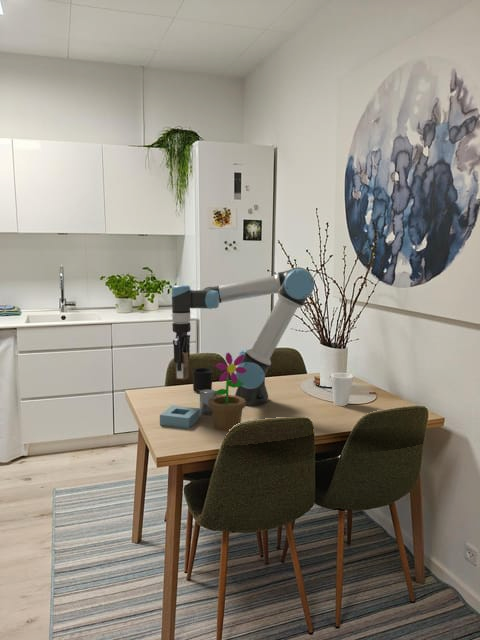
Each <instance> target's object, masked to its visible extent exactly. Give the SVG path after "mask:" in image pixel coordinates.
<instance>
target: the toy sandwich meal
mask: <svg viewBox="0 0 480 640" xmlns="http://www.w3.org/2000/svg"><path fill="white" fill-rule="evenodd" d="M313 377H314V380H313V384H315V385H316V384H318V385H320V375H314V376H313Z"/></svg>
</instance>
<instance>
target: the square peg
mask: <svg viewBox="0 0 480 640" xmlns="http://www.w3.org/2000/svg"><path fill="white" fill-rule="evenodd" d="M182 363H183V370H184V378H183V379H181V378H177V363H175V379H176V380H183V381H185V380H188V379H189V376H190V375H189V360H188V352H183V360H182Z"/></svg>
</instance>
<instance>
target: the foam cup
mask: <svg viewBox="0 0 480 640" xmlns="http://www.w3.org/2000/svg"><path fill="white" fill-rule="evenodd" d="M330 375H331V376H330V379H331V381H332V388H331V390H332V399H333V401H332V402H333V405H335V404H336V405H335V406H337V405H340V406H339V407H346V406H345V405H347V404H348V405H349V403H350V402H349V401H350V397H351V391H352V385H353V382H354V375H353V374H351V373H345V372H334V373H331V374H330ZM348 405H347V406H348Z"/></svg>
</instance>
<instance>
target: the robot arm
mask: <svg viewBox="0 0 480 640" xmlns="http://www.w3.org/2000/svg"><path fill="white" fill-rule="evenodd" d="M314 288H315V280H314V277H313V274H311V272H310V271H308V270H307V269H306V268H303V267H299V266H298V267H294V268H291V269H288V270H285V271H281V272H280V271H279V272H277V273H276V274H275V275H270V276H266V277H260V278H254V279H249V280H244V281H243V280H242V281H238V282H232V283H227V284H221V285H216V286H207V287H204V288H203V289H200V290H199V289H198V290H197V289H196V290H193V289H191V287H190V285H188V284H187V285H186V284H178V285H176V284H175V285H173V286H172V287H171V311H172V312H171V313H172V314H171V318H172V319H171V321H172V323H171V324H172V325H171V326H172V332H173V333H176V334H175V339H172V344H173V363H174V364H176V363H177V378H181V379H183V378H184V370H183V363H182V360H183V352H188V361H190V360H191V358H190V356H191V355H190V354H191V353H190V352H191V350H190V345H191V344H190V343H191V342H190V341H191V335H190V334H188V333H190V332H191V331H192V330H191V309H209V310H213V309H217V308H219V307H220V304H221V303H226V302H232V301H238V300H244V299H245V300H246V299H249V298H256V297H261V296H267V295H274V294H277V297H278V299H277V301H276V302H275V305H274V307H273V309H272V310H271V312H270V314H269V316H268V318H267V320H266V322H265V324H264V325H263V327H262V328H261V331H260V332H259V335H258V337H257V338H256V340H255V342H254V343H253V346H252V347H251V348H250V349H242V350H240V351H239V355H238V356H241V355H242V356H243V360H242V362H241V363H240V364H239V365H237V367H243V368H244V369H246V370H247V371H246V373H243V374H241V373H237V372H236V371H235V374H236V376H237V380H239V381H240V382H242V383H243V385H242V386H239V387H236V391H235V393H234V396H239V397H242V398H244V399H245V401H246V406H261V405H265V404H267V403H268V402H269V393H268V391H267V387H266V383H265V382H266V374H267V372H268V370H269V368H270V367H271V365H272V361H271V357H272V355H273V353H274V352H275V350H276V348H277V346H278V344H279V342H280V340H281V339H282V337H283V335H284V333H285V332H286V330H287V328H288V326H289V324H290V322H291V321H292V319H293V317H294V315H295V313H296V311H297V309H299V308H301V307H303V306H304V304H305V302H306V301H307V299H308V298H309V296H310V295H311V294H312V293H313V292H314ZM181 379H180V380H181Z"/></svg>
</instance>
